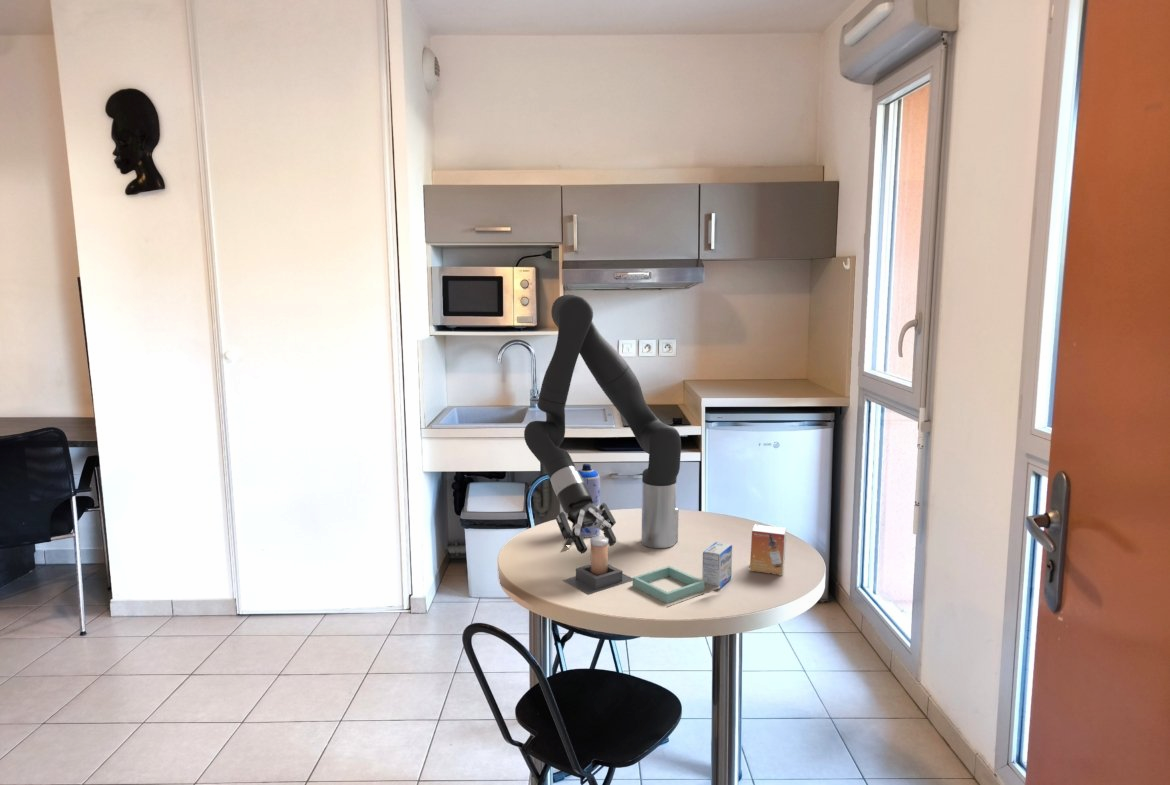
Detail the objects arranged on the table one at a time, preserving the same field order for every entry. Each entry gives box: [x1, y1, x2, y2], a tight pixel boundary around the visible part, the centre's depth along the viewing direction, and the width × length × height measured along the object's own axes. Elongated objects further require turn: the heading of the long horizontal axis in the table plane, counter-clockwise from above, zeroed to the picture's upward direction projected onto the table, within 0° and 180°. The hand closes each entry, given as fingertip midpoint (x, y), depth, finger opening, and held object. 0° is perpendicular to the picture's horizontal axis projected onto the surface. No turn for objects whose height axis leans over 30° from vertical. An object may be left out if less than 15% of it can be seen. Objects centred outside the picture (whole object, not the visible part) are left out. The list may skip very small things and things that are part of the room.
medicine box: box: [701, 541, 733, 591], centre depth 171 cm, size 8×4×9 cm, turn 148°
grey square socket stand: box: [562, 563, 633, 596], centre depth 170 cm, size 14×10×4 cm
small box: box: [749, 524, 787, 576], centre depth 179 cm, size 8×6×10 cm
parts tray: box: [632, 565, 705, 608], centre depth 166 cm, size 12×12×3 cm
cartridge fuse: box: [589, 535, 609, 576], centre depth 170 cm, size 4×4×10 cm
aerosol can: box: [577, 463, 601, 539], centre depth 204 cm, size 8×8×20 cm
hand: (599, 548), depth 169 cm, fingers open, 8 cm apart
